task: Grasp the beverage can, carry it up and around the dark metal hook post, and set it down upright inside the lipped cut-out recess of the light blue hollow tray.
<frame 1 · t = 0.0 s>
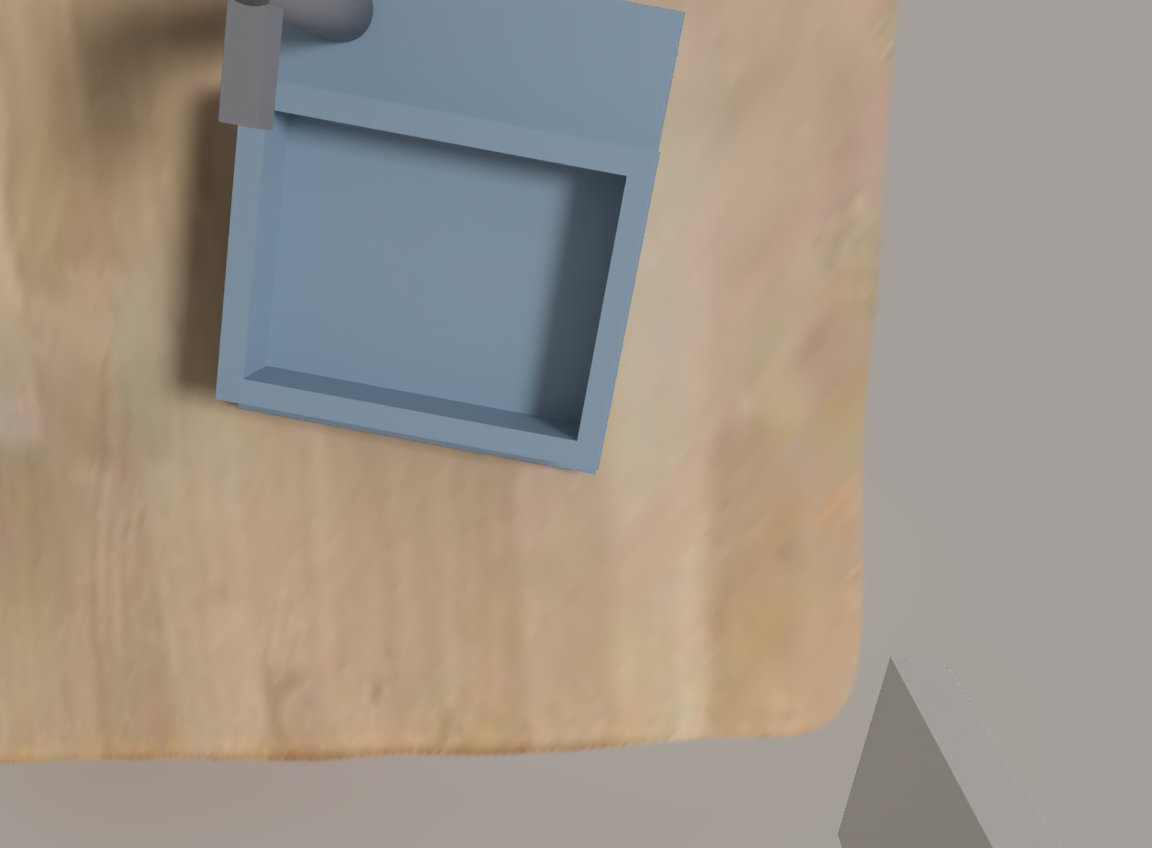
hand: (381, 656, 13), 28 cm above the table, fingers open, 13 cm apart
light blue hollow tray: (451, 220, 39), on the table
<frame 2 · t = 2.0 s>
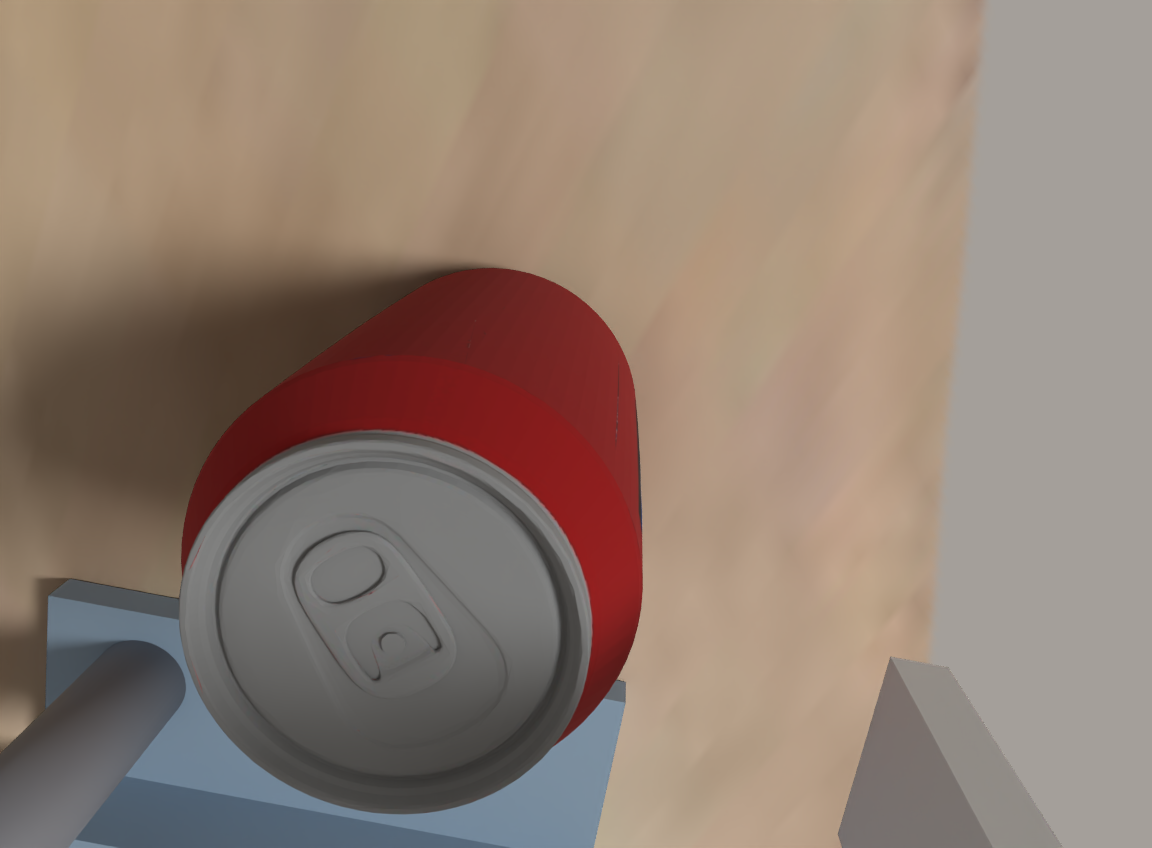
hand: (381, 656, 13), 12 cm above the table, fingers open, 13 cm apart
beverage can: (500, 398, 24), on the table
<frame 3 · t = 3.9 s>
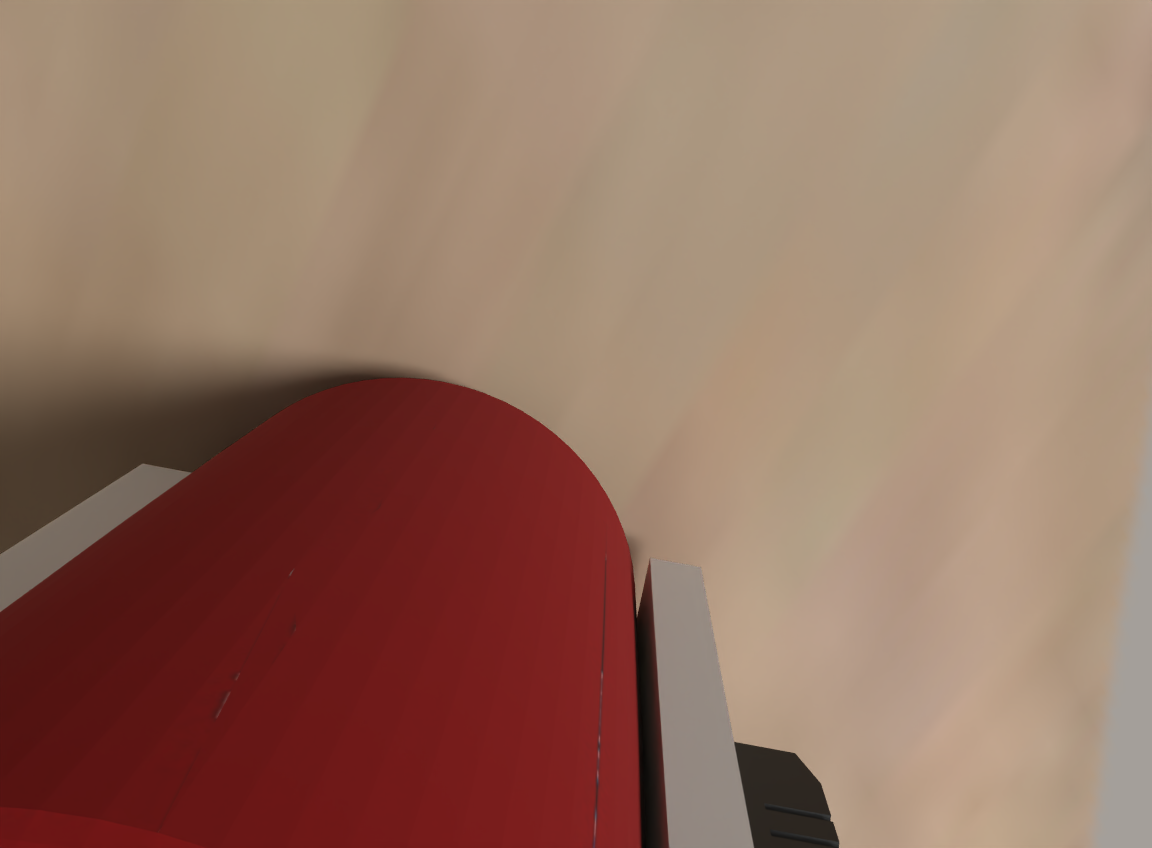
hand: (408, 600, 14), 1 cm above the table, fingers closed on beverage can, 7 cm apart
beverage can: (425, 566, 16), on the table, touching gripper
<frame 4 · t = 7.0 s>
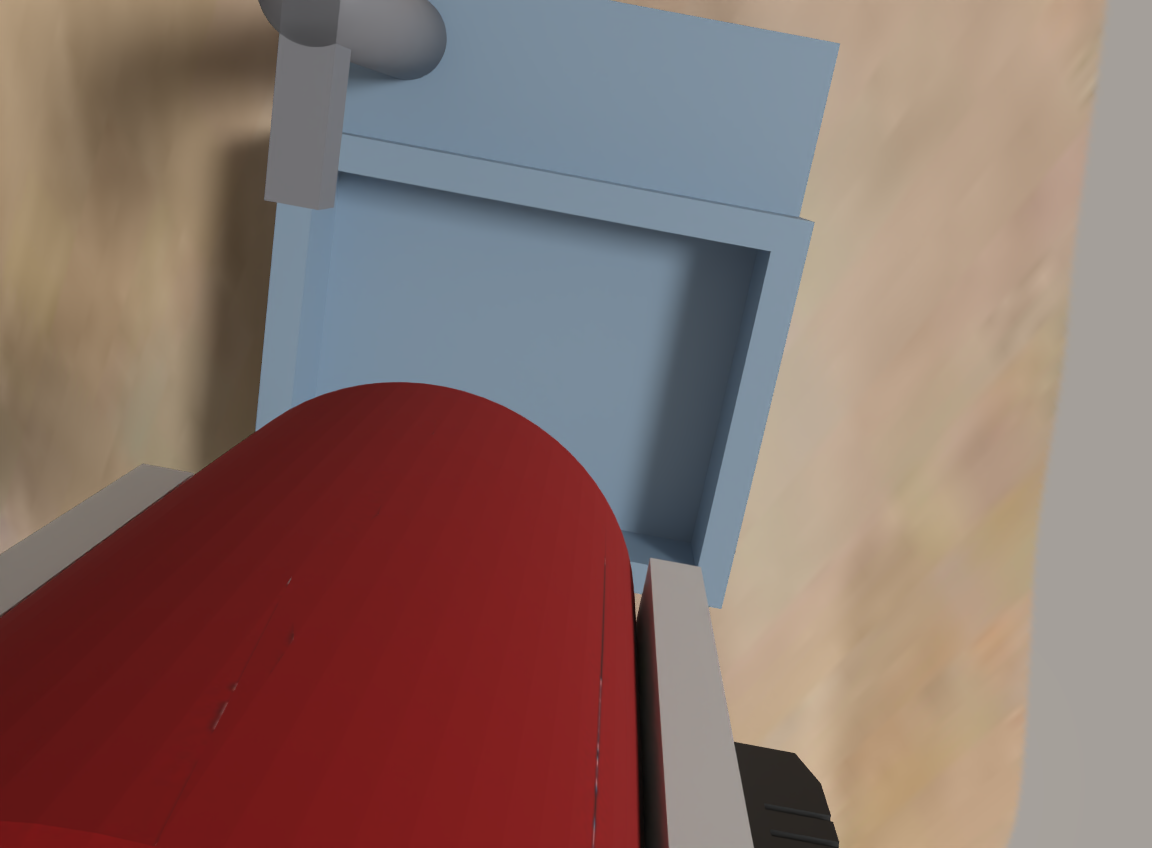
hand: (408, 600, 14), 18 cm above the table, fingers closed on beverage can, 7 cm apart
beverage can: (424, 570, 16), point 17 cm above the table, touching gripper
light blue hollow tray: (536, 296, 32), on the table
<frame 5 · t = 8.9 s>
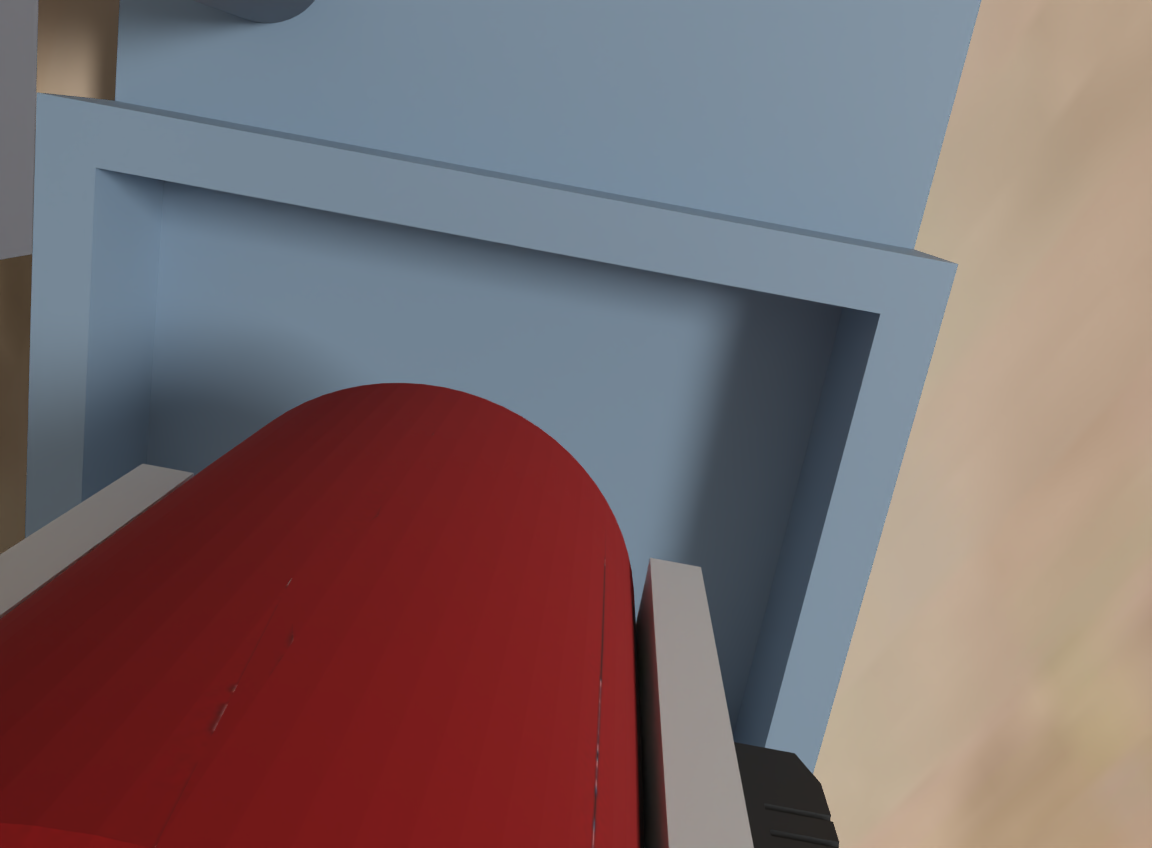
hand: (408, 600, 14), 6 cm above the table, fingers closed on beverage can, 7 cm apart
beverage can: (424, 571, 16), point 5 cm above the table, touching gripper
light blue hollow tray: (488, 371, 20), on the table
when the fingers open (4 cm above the table, at t = 10.3 s): beverage can drops 2 cm, resting on light blue hollow tray.
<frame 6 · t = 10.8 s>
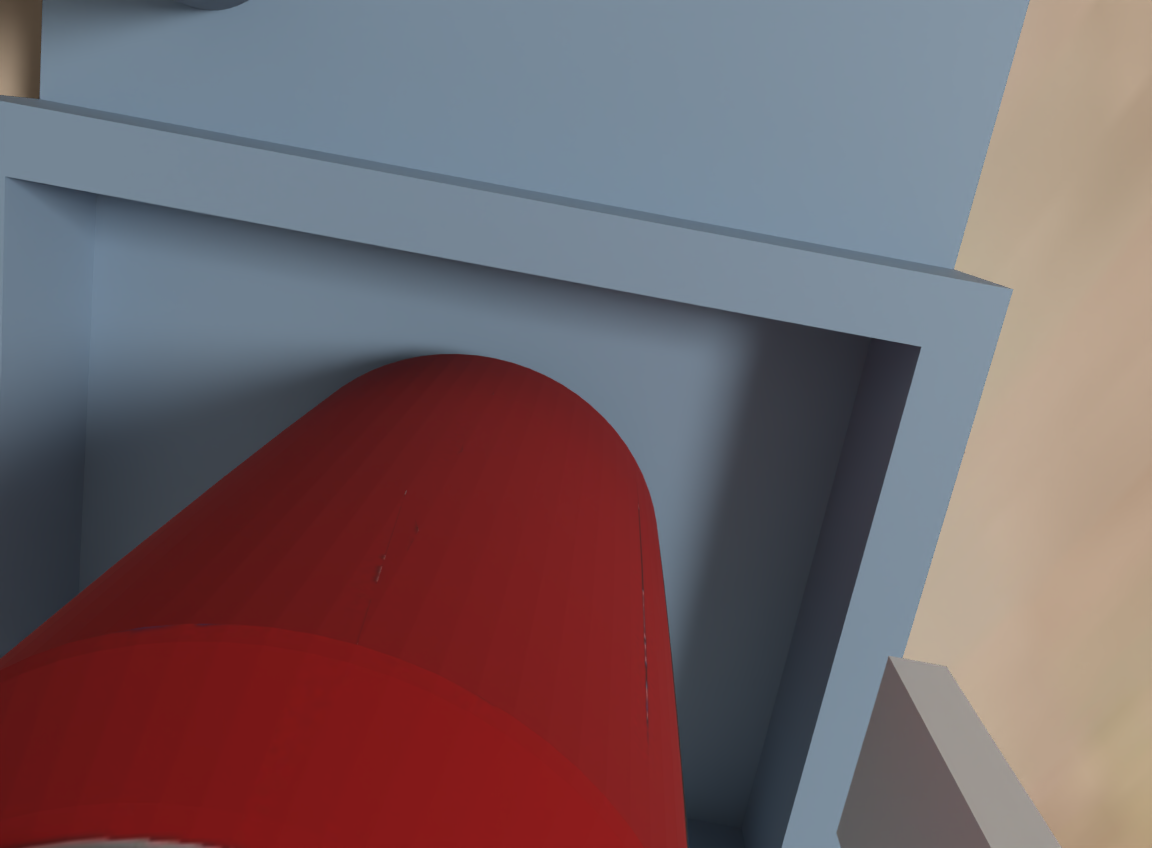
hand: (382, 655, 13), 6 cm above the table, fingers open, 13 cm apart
beverage can: (470, 525, 18), point 1 cm above the table, touching light blue hollow tray
light blue hollow tray: (469, 405, 18), on the table
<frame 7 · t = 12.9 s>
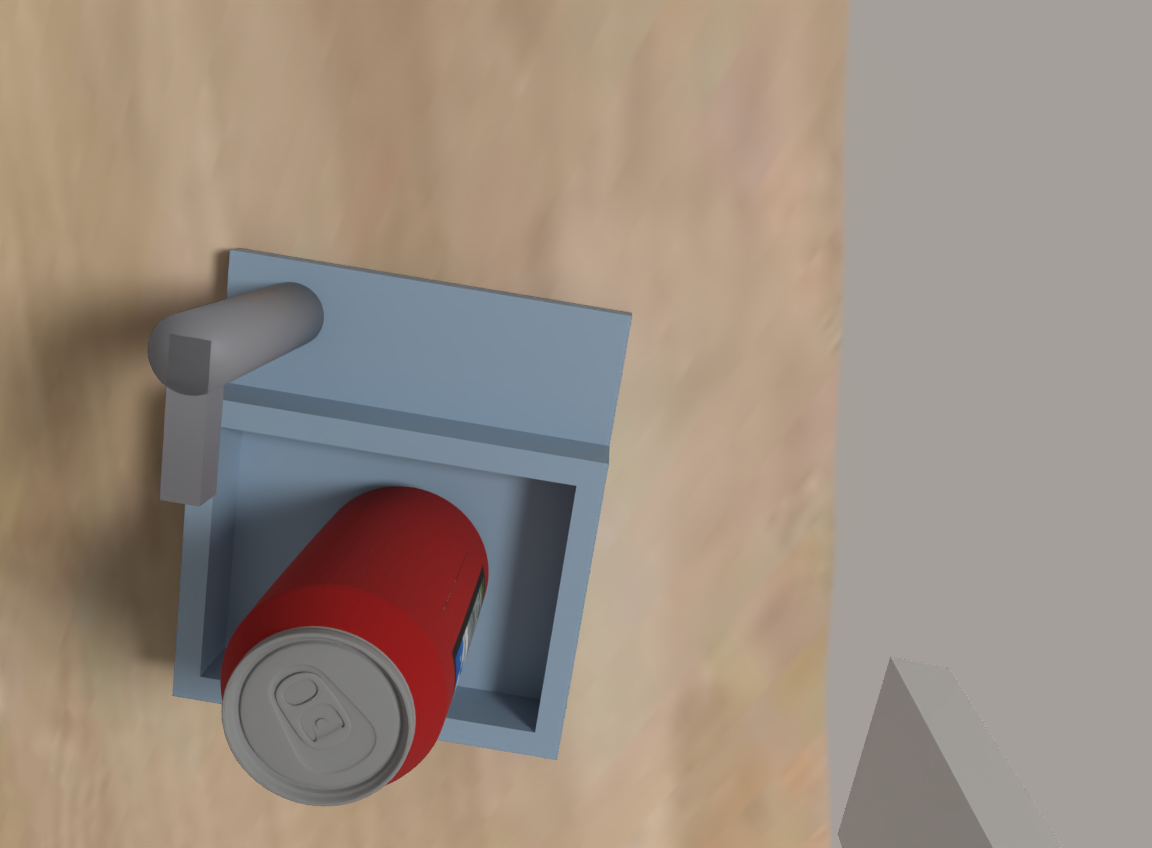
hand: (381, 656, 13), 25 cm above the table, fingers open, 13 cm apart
beverage can: (408, 558, 39), point 1 cm above the table, touching light blue hollow tray
light blue hollow tray: (407, 504, 39), on the table
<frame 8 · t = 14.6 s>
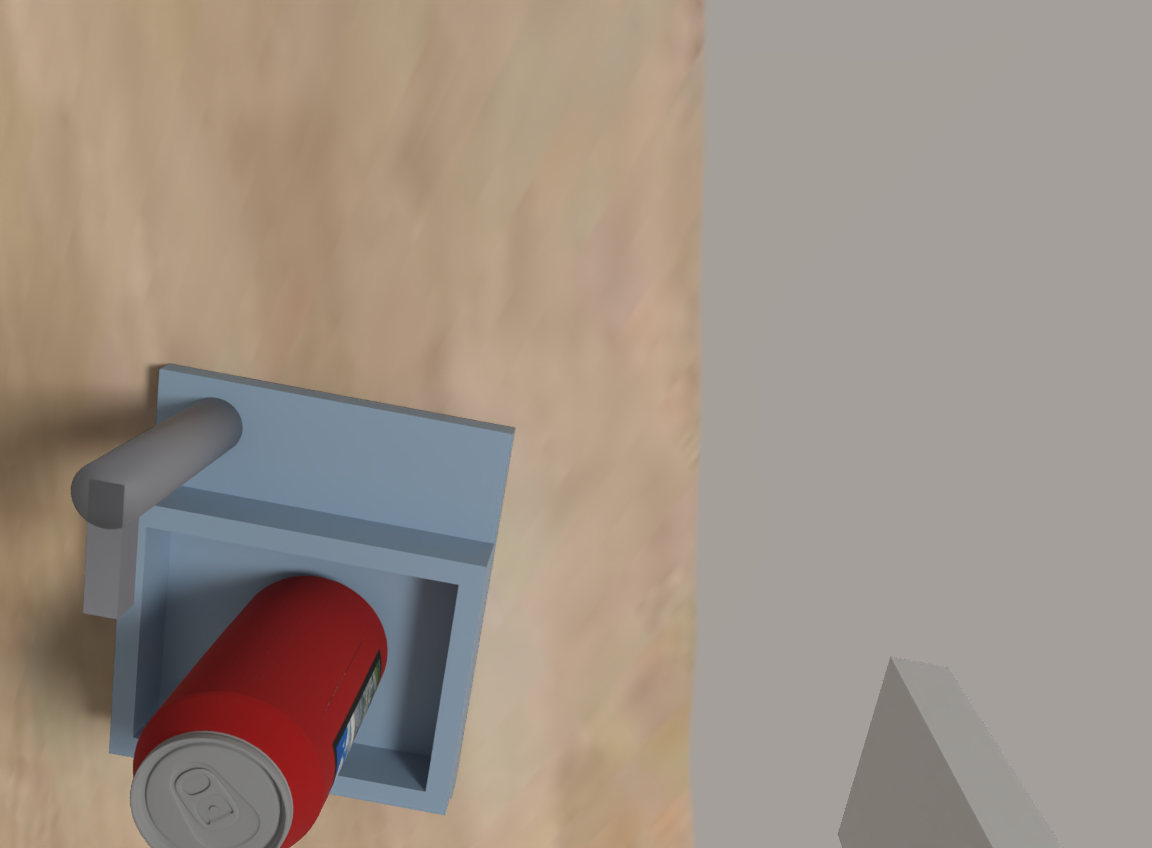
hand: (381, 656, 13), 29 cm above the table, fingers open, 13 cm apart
beverage can: (319, 634, 44), point 1 cm above the table, touching light blue hollow tray
light blue hollow tray: (320, 586, 44), on the table
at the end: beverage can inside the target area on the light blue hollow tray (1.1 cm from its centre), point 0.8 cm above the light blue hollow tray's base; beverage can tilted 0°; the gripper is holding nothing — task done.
